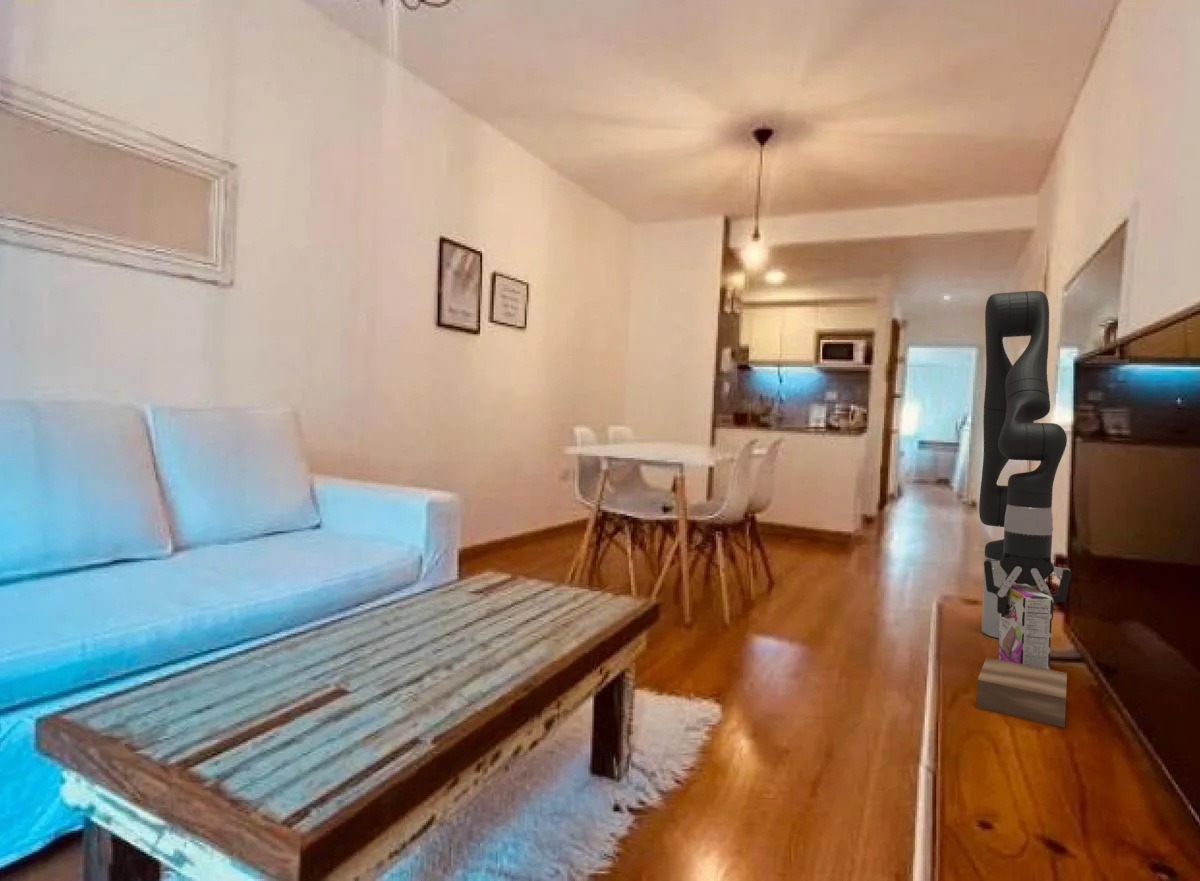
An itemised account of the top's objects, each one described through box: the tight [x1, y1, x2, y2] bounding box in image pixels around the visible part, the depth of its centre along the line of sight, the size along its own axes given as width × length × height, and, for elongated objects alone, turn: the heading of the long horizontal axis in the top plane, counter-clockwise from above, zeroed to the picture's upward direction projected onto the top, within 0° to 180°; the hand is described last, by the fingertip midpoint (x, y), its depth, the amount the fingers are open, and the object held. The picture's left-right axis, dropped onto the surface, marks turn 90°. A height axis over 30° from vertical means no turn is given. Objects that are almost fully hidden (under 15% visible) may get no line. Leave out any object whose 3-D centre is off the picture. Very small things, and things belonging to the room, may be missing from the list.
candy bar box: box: [997, 581, 1053, 670], centre depth 125 cm, size 11×5×16 cm, turn 168°
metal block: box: [976, 657, 1068, 729], centre depth 112 cm, size 13×12×5 cm
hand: (1024, 618), depth 125 cm, fingers closed on candy bar box, 6 cm apart
